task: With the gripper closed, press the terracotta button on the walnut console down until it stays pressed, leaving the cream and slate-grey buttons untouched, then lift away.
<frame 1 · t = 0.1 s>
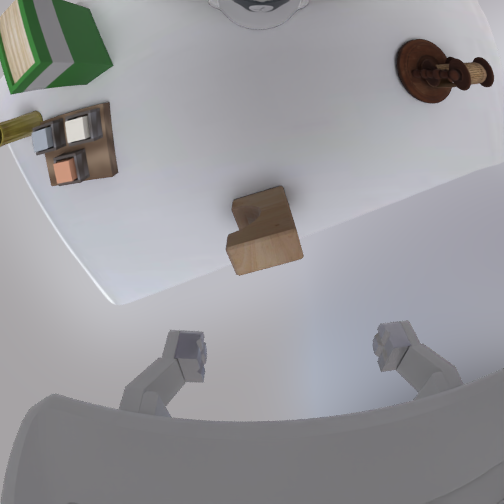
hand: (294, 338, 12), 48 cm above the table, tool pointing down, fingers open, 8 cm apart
cream button: (78, 128, 43), point 7 cm above the table, slide at 0.0 cm
hardback book: (87, 45, 39), on the table
decorative block: (260, 203, 60), on the table
console: (80, 144, 51), on the table
vase: (35, 122, 47), on the table
slate button: (43, 138, 43), point 7 cm above the table, slide at 0.0 cm
terracotta button: (66, 170, 47), point 7 cm above the table, slide at 0.0 cm
brown round-based piece: (421, 70, 43), on the table
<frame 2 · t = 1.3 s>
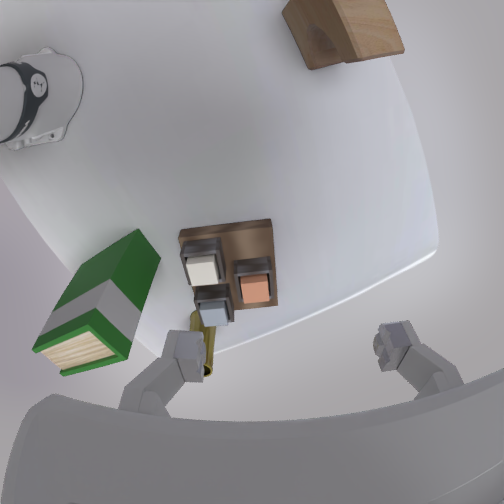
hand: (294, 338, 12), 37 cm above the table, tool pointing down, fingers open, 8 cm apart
cream button: (203, 268, 46), point 7 cm above the table, slide at 0.0 cm
hardback book: (118, 261, 53), on the table
decorative block: (310, 36, 33), on the table
console: (232, 265, 55), on the table
vase: (203, 317, 62), on the table
slate button: (214, 311, 52), point 7 cm above the table, slide at 0.0 cm
terracotta button: (255, 286, 49), point 7 cm above the table, slide at 0.0 cm
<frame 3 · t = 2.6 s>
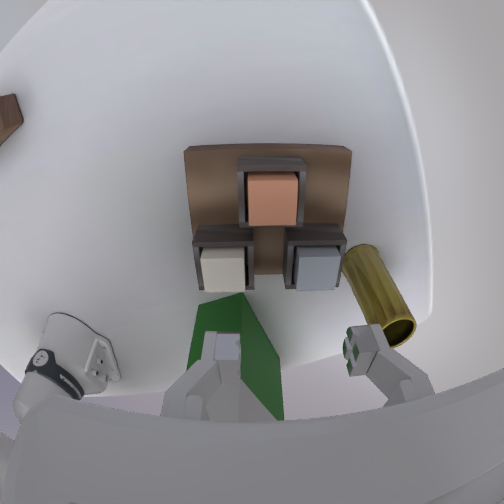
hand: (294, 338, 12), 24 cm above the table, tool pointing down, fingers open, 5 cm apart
cream button: (224, 267, 31), point 7 cm above the table, slide at 0.0 cm
hardback book: (242, 333, 47), on the table
decorative block: (2, 125, 26), on the table
console: (267, 207, 35), on the table
vase: (359, 261, 39), on the table
slate button: (315, 265, 31), point 7 cm above the table, slide at 0.0 cm
terracotta button: (271, 197, 27), point 7 cm above the table, slide at 0.0 cm
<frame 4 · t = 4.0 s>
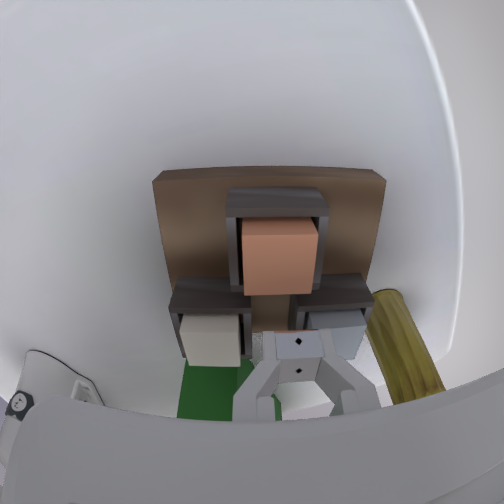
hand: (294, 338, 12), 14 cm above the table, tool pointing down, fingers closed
cream button: (213, 336, 23), point 7 cm above the table, slide at 0.0 cm
hardback book: (239, 382, 39), on the table
console: (269, 249, 27), on the table
vase: (379, 307, 31), on the table
slate button: (331, 331, 23), point 7 cm above the table, slide at 0.0 cm
terracotta button: (277, 253, 19), point 7 cm above the table, slide at 0.0 cm
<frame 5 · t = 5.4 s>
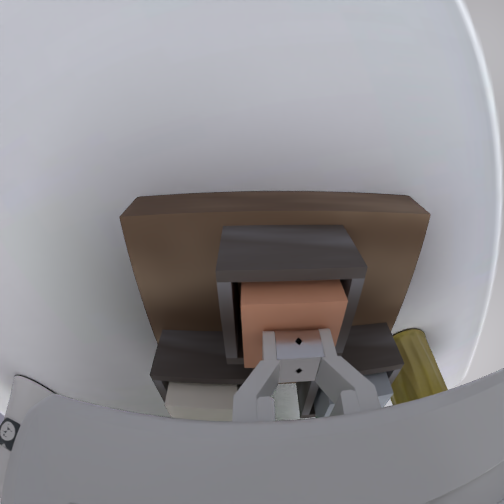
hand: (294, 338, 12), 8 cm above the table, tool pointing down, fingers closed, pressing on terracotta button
cream button: (206, 402, 17), point 7 cm above the table, slide at 0.0 cm
console: (275, 293, 21), on the table
vase: (399, 346, 26), on the table
slate button: (349, 395, 17), point 7 cm above the table, slide at 0.0 cm
terracotta button: (288, 314, 14), point 6 cm above the table, slide at 0.7 cm, touching gripper
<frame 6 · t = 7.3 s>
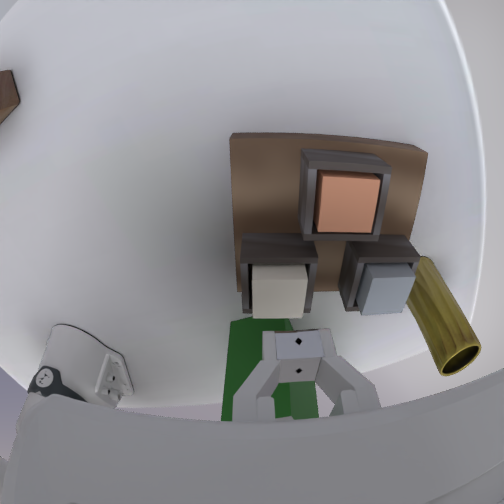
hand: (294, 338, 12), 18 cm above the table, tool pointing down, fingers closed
cream button: (278, 287, 25), point 7 cm above the table, slide at 0.0 cm
hardback book: (277, 351, 41), on the table
console: (324, 212, 28), on the table
vase: (413, 274, 33), on the table
slate button: (383, 285, 24), point 7 cm above the table, slide at 0.0 cm
terracotta button: (343, 197, 21), point 6 cm above the table, slide at 1.2 cm
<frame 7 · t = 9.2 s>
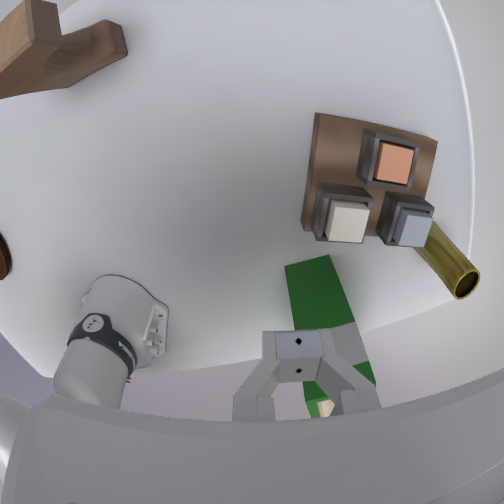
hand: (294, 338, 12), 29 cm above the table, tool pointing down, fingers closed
cream button: (345, 219, 33), point 7 cm above the table, slide at 0.0 cm
hardback book: (315, 298, 50), on the table
decorative block: (92, 56, 27), on the table
console: (367, 176, 37), on the table
vase: (423, 234, 43), on the table
slate button: (410, 226, 34), point 7 cm above the table, slide at 0.0 cm
terracotta button: (390, 161, 30), point 6 cm above the table, slide at 1.2 cm
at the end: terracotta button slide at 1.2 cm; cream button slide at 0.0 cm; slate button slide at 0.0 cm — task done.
